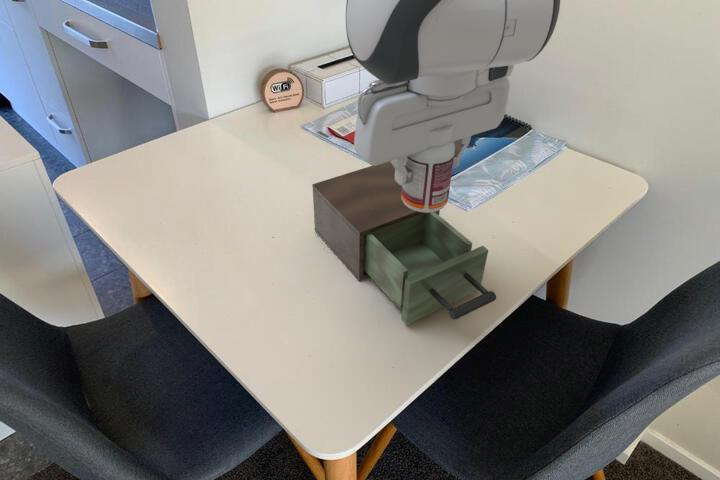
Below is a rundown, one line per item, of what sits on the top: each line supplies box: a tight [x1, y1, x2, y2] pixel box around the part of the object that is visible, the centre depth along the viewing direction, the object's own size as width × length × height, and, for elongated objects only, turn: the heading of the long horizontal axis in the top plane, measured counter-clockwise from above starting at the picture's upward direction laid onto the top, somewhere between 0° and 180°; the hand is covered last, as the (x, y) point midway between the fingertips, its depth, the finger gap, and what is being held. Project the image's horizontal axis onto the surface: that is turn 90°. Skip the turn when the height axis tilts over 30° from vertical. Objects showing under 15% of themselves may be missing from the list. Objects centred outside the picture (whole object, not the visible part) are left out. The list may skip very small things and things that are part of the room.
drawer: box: [364, 212, 497, 326], centre depth 75 cm, size 19×13×8 cm
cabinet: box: [311, 161, 441, 282], centre depth 85 cm, size 15×15×10 cm
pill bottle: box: [402, 125, 455, 213], centre depth 65 cm, size 6×6×11 cm
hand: (427, 173), depth 66 cm, fingers closed on pill bottle, 6 cm apart
